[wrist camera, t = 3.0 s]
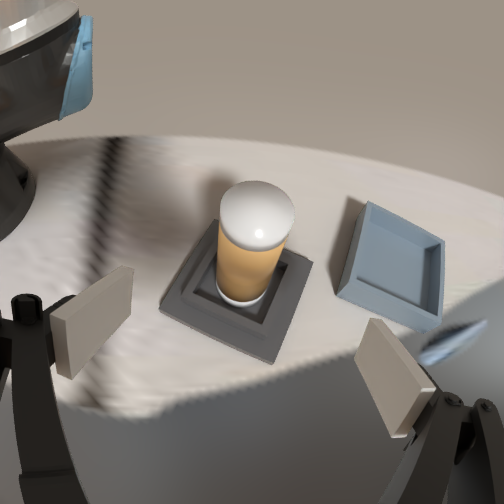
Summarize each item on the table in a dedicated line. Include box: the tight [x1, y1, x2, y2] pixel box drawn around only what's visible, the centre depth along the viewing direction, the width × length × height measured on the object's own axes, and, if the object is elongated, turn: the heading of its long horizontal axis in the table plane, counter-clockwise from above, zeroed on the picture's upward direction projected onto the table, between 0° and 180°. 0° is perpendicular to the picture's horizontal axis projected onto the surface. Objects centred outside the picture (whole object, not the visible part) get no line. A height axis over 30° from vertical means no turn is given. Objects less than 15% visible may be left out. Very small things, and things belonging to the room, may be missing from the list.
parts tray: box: [336, 201, 445, 334], centre depth 33 cm, size 12×12×4 cm
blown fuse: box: [216, 181, 295, 308], centre depth 25 cm, size 5×5×12 cm
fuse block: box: [159, 219, 313, 365], centre depth 30 cm, size 12×12×2 cm
